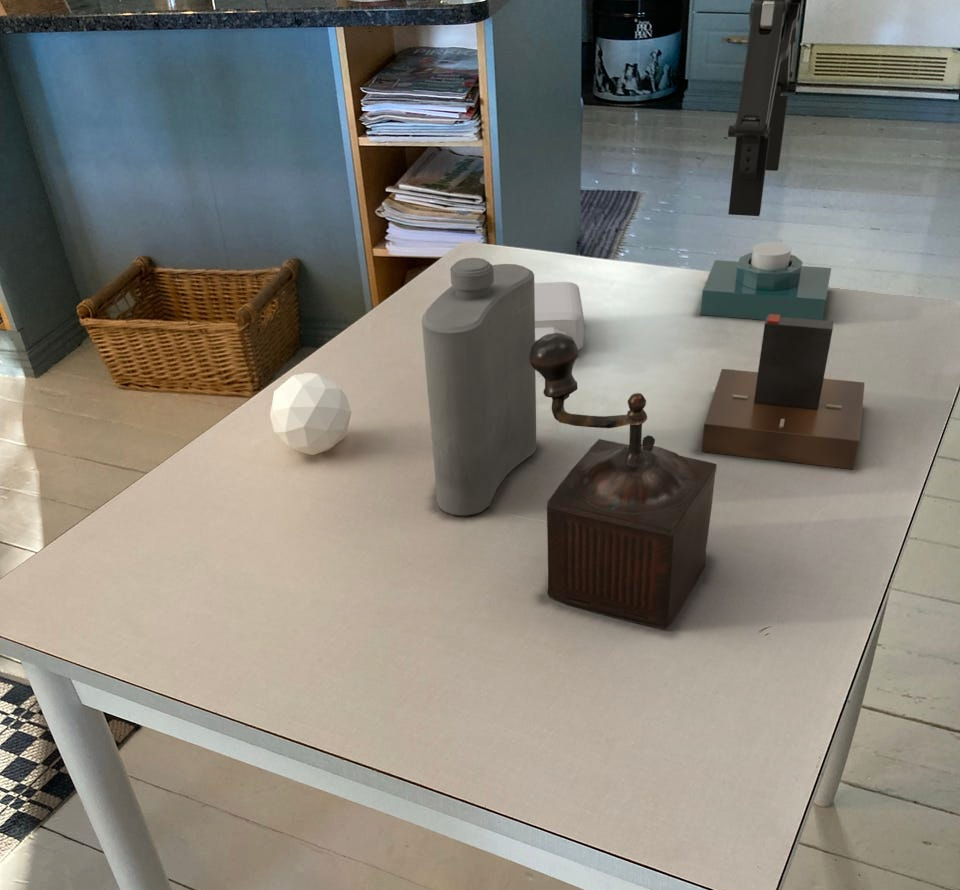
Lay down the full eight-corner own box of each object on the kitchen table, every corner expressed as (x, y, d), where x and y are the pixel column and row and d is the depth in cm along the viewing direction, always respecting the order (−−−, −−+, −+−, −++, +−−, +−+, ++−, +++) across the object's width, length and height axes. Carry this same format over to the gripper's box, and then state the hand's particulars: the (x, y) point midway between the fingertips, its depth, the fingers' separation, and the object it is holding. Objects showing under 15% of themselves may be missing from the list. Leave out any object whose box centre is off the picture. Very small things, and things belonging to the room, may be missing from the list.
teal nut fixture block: (827, 292, 127) (834, 251, 123) (821, 325, 119) (828, 282, 116) (712, 283, 130) (716, 243, 127) (700, 314, 123) (704, 273, 120)
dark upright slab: (819, 400, 99) (834, 318, 94) (818, 409, 98) (833, 326, 93) (755, 394, 101) (767, 313, 95) (753, 402, 99) (765, 320, 94)
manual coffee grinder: (712, 556, 86) (737, 352, 74) (668, 633, 78) (688, 421, 67) (543, 515, 92) (542, 321, 80) (487, 583, 84) (476, 380, 73)
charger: (502, 379, 112) (501, 323, 124) (587, 376, 112) (578, 320, 124) (501, 338, 109) (500, 284, 121) (587, 334, 109) (579, 281, 120)
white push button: (790, 260, 123) (793, 243, 122) (786, 274, 120) (789, 256, 118) (752, 257, 124) (755, 240, 123) (748, 271, 121) (750, 253, 120)
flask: (490, 433, 103) (481, 230, 91) (544, 443, 101) (542, 237, 88) (419, 508, 93) (398, 292, 81) (477, 522, 91) (464, 302, 78)
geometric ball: (306, 481, 103) (249, 438, 97) (312, 419, 107) (256, 375, 101) (365, 453, 100) (308, 407, 94) (368, 390, 103) (314, 342, 98)
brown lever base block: (858, 409, 104) (865, 380, 102) (853, 469, 95) (859, 439, 93) (718, 395, 107) (721, 366, 105) (700, 451, 99) (704, 422, 97)
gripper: (760, -100, 93) (734, 151, 107) (715, -62, 75) (690, 232, 89) (846, -102, 91) (808, 154, 105) (821, -64, 73) (779, 238, 87)
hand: (754, 191), depth 97 cm, fingers open, 13 cm apart
